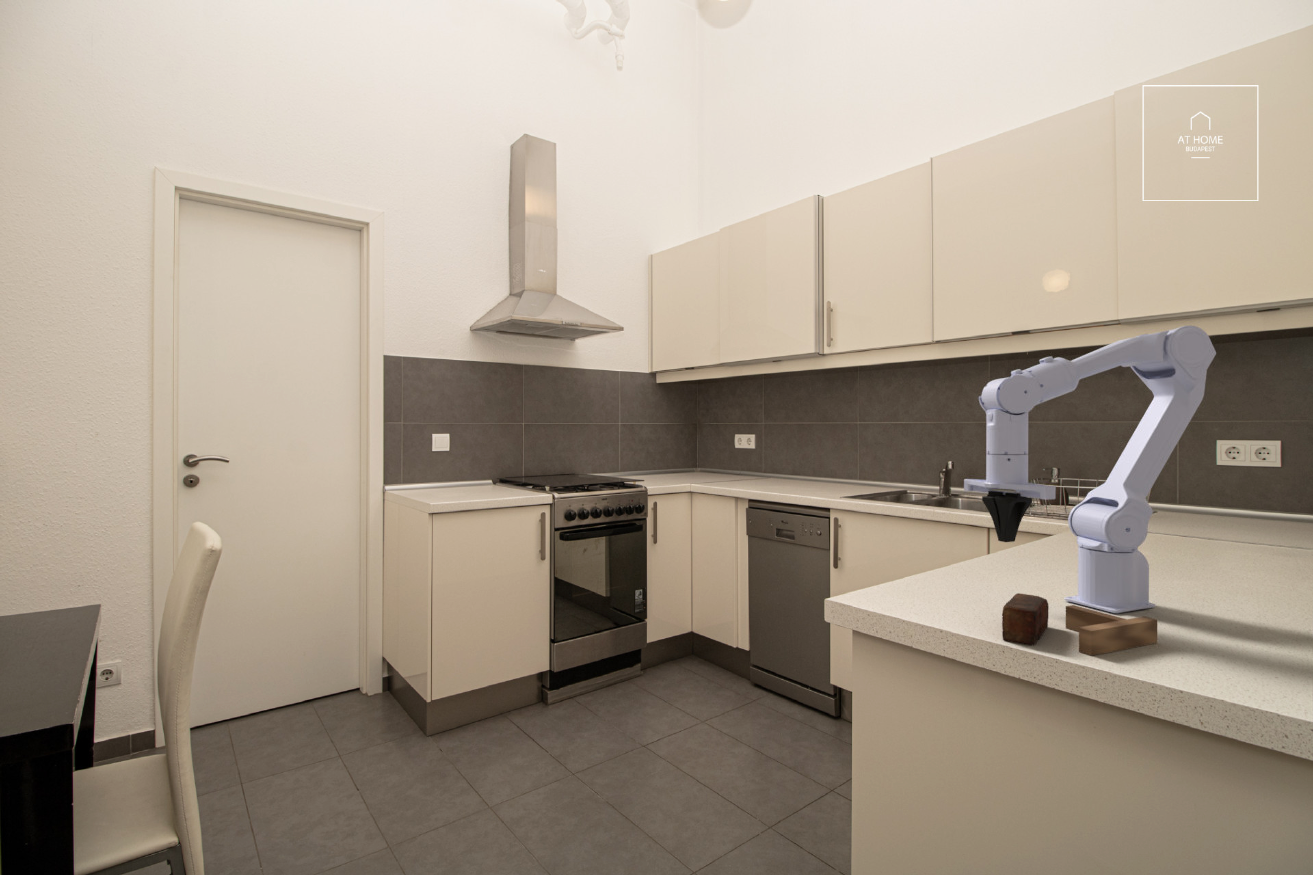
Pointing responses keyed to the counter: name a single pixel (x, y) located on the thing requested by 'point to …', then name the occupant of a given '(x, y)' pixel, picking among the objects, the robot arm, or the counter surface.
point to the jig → (1109, 630)
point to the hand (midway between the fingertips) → (1006, 541)
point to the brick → (1024, 619)
